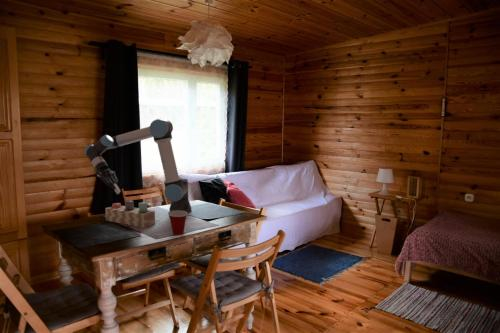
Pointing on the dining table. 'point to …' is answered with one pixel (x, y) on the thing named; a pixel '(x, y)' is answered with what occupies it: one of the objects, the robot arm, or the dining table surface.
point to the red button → (116, 205)
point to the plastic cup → (177, 221)
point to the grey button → (129, 205)
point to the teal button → (143, 207)
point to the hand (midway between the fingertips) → (118, 192)
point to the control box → (130, 216)
